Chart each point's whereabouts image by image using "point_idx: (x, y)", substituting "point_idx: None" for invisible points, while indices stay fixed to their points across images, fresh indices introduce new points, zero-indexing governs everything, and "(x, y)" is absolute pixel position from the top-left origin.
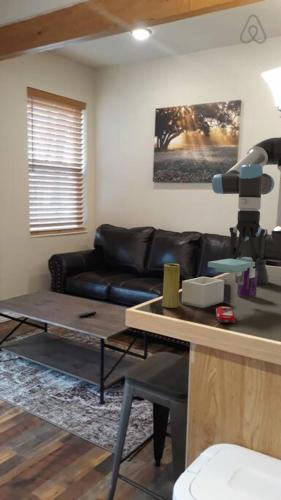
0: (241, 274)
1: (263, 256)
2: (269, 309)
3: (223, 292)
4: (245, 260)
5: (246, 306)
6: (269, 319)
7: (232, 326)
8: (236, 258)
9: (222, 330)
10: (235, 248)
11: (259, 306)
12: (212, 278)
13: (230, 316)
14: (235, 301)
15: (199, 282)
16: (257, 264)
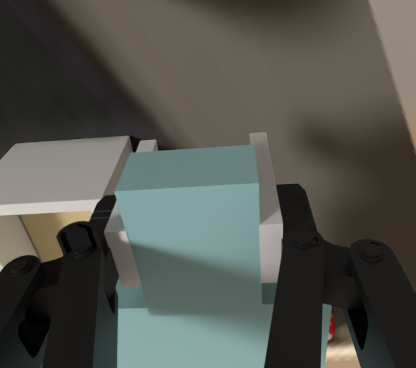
0: (155, 146)
1: (389, 253)
2: (356, 85)
3: (118, 160)
4: (239, 306)
5: (248, 121)
6: (406, 213)
7: (337, 324)
8: (150, 315)
9: (333, 353)
10: (12, 322)
11: (293, 72)
12: (29, 211)
13: (329, 338)
14: (154, 79)
15: (4, 231)
16: (308, 209)
